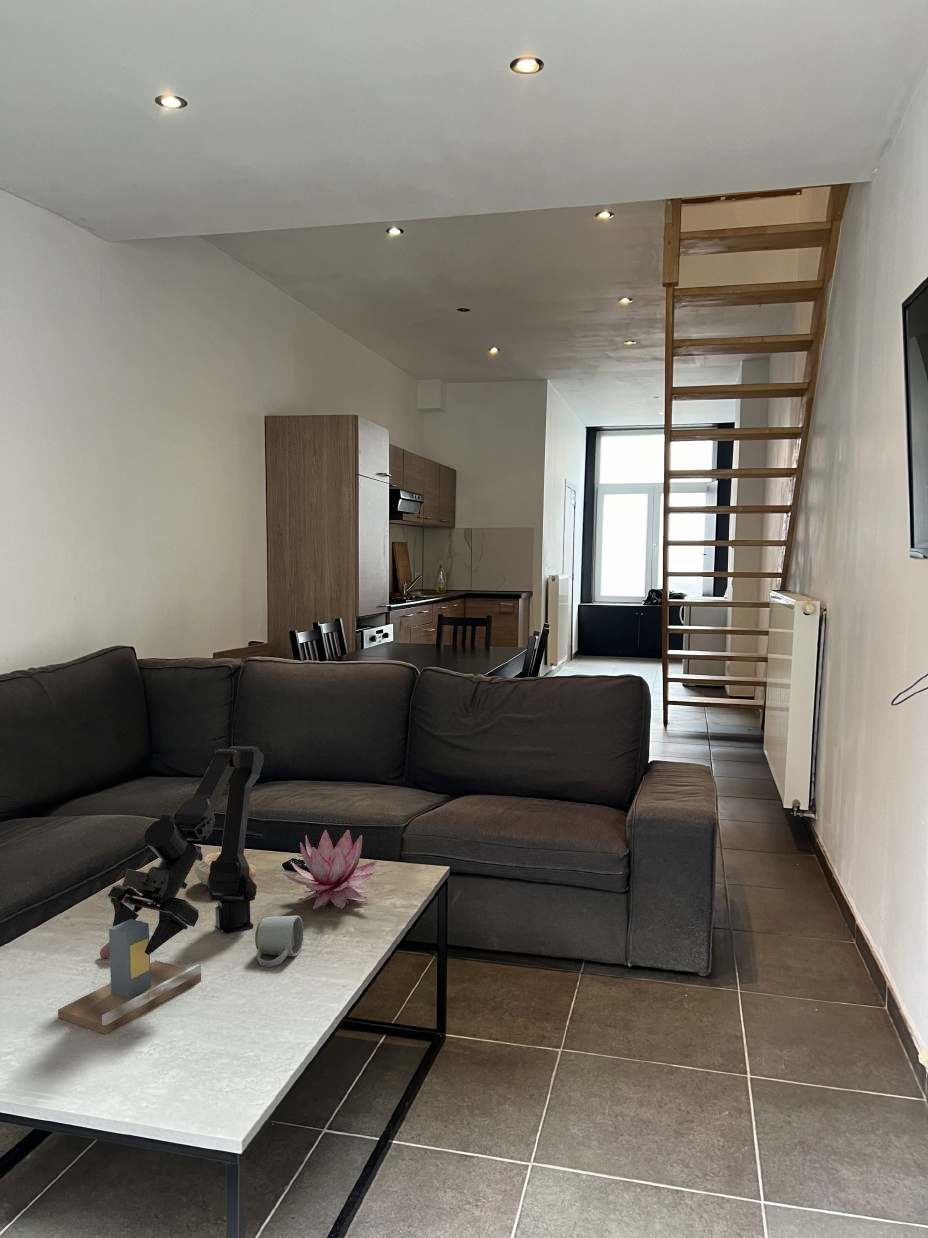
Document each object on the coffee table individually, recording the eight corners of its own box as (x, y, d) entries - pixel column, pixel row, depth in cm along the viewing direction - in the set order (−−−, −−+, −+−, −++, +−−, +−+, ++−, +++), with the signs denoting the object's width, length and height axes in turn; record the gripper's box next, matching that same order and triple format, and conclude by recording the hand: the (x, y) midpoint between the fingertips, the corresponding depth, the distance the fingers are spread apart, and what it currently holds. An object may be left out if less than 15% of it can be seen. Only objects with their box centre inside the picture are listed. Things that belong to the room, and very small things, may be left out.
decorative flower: (267, 904, 209) (265, 840, 208) (337, 879, 225) (335, 820, 224) (328, 927, 195) (326, 859, 194) (397, 898, 211) (396, 835, 210)
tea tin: (111, 993, 162) (108, 928, 162) (133, 982, 167) (131, 919, 166) (130, 999, 160) (127, 933, 159) (152, 987, 164) (149, 923, 164)
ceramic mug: (266, 944, 186) (265, 908, 186) (304, 946, 185) (303, 910, 185) (247, 968, 176) (246, 930, 175) (287, 970, 175) (286, 932, 174)
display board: (156, 967, 176) (155, 952, 176) (202, 981, 170) (201, 965, 170) (58, 1018, 157) (57, 1000, 157) (106, 1034, 151) (105, 1016, 151)
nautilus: (199, 872, 233) (258, 871, 236) (189, 897, 212) (254, 895, 215) (200, 841, 233) (259, 841, 236) (190, 863, 212) (255, 862, 215)
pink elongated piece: (115, 968, 180) (128, 938, 179) (96, 957, 180) (109, 927, 179) (141, 947, 189) (153, 919, 188) (123, 937, 190) (135, 909, 189)
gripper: (113, 843, 171) (65, 920, 162) (185, 857, 162) (138, 940, 153) (147, 871, 178) (103, 946, 169) (217, 886, 169) (175, 966, 160)
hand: (128, 949), depth 163 cm, fingers open, 9 cm apart
